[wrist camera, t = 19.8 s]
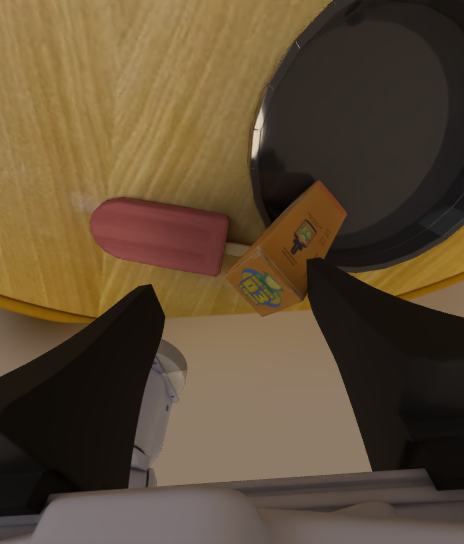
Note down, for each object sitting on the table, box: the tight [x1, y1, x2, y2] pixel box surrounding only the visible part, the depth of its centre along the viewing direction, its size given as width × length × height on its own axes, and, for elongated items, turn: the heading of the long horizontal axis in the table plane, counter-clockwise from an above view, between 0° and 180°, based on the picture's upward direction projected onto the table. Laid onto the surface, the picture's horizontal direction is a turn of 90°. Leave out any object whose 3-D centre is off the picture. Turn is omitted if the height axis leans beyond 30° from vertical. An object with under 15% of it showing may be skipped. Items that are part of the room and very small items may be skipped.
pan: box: [247, 0, 464, 273], centre depth 16 cm, size 16×16×4 cm
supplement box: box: [225, 180, 347, 317], centre depth 15 cm, size 3×3×10 cm
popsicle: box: [90, 197, 251, 276], centre depth 21 cm, size 5×2×15 cm
